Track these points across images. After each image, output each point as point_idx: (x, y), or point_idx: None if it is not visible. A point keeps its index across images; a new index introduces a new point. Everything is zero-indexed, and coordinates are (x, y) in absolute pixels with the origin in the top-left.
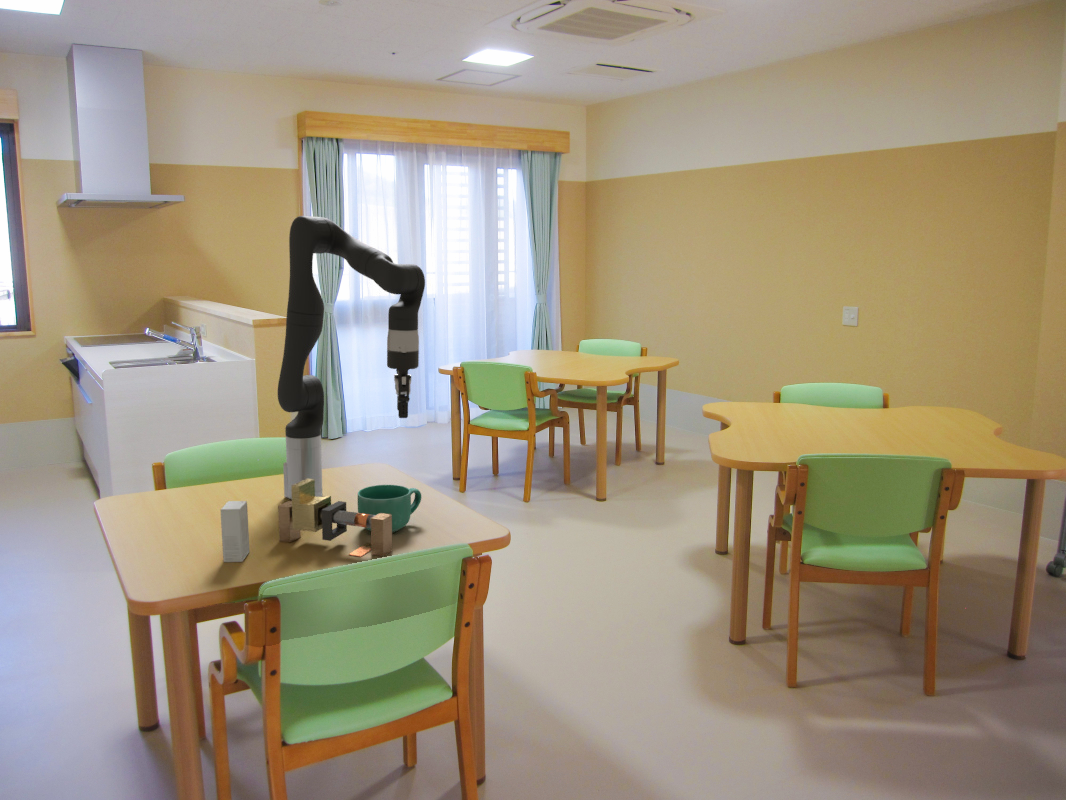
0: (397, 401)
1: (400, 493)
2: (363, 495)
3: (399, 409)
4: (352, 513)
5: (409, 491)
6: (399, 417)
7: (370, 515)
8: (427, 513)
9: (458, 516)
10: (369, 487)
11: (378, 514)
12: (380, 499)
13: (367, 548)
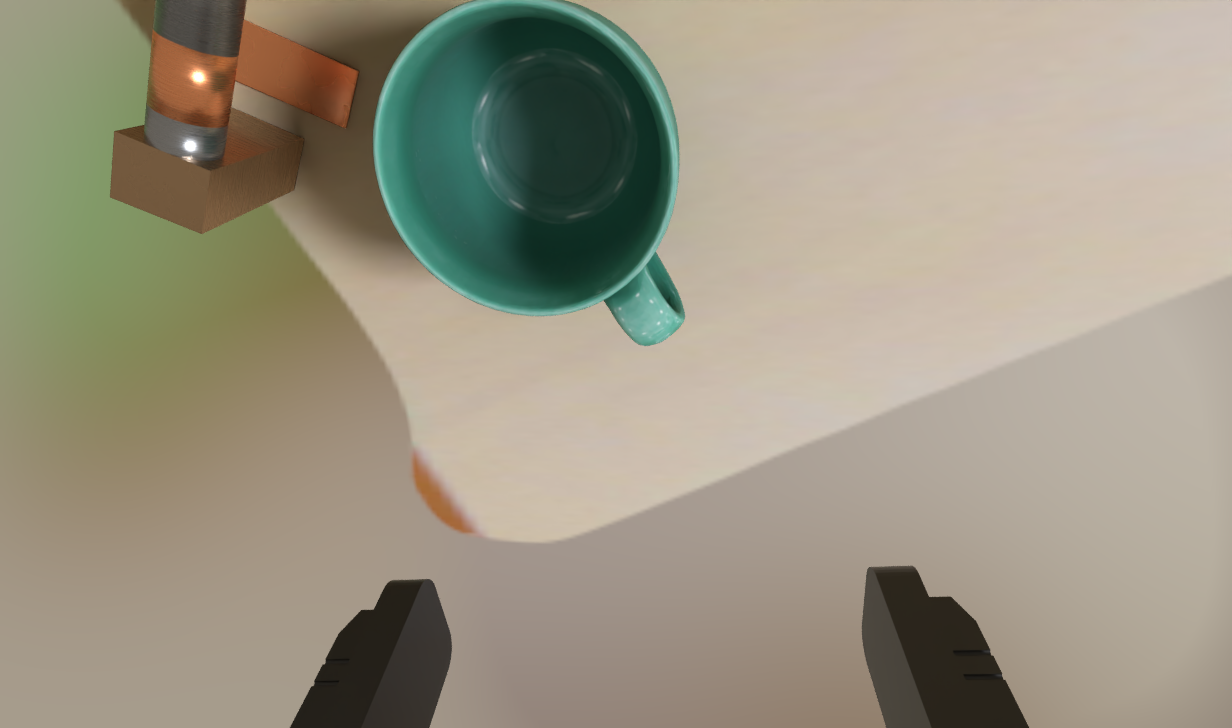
0: (912, 676)
1: (631, 247)
2: (575, 27)
3: (350, 676)
4: (167, 9)
5: (537, 311)
6: (391, 584)
7: (158, 123)
8: (763, 313)
9: (709, 427)
10: (633, 64)
11: (183, 166)
12: (374, 163)
13: (286, 82)
